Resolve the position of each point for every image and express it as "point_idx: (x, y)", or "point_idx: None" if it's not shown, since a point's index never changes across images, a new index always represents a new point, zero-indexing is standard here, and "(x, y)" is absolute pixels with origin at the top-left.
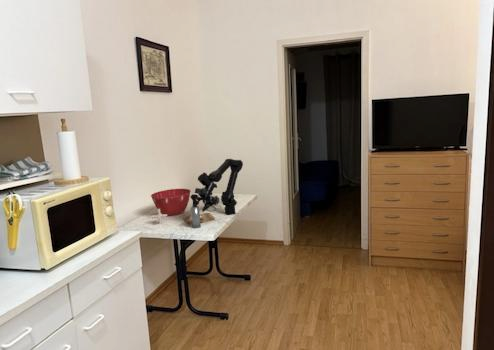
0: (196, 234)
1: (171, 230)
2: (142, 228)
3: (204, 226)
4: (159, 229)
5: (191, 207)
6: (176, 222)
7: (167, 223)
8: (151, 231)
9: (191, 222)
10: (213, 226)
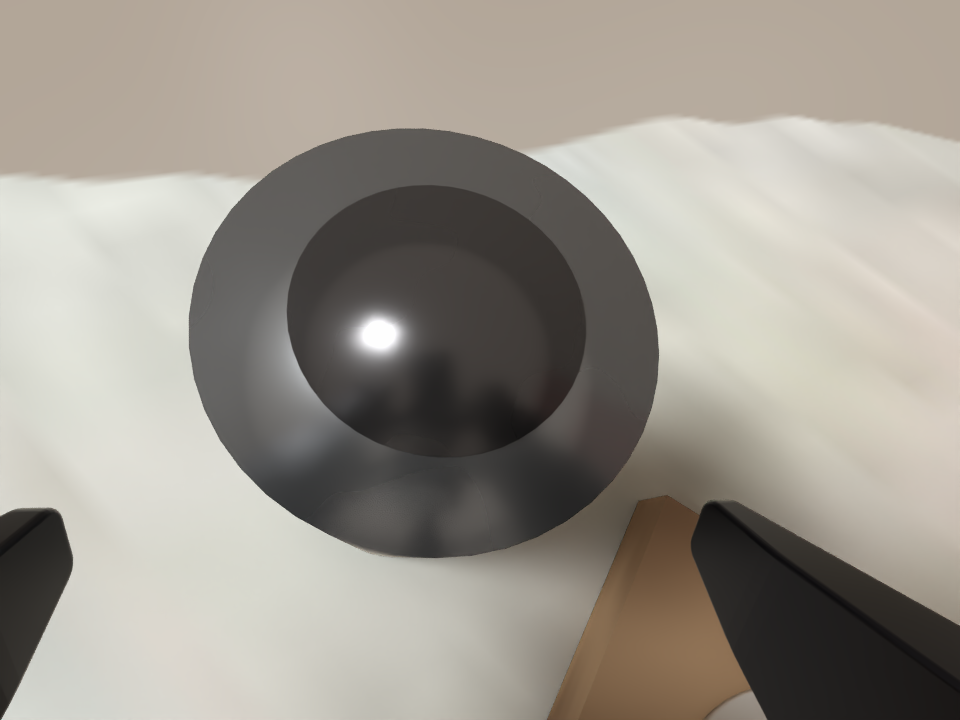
0: (123, 194)
1: (622, 213)
2: (953, 167)
3: (270, 580)
4: (781, 196)
5: (544, 201)
6: (904, 511)
7: (947, 412)
8: (783, 124)
9: (629, 560)
10: (48, 688)
